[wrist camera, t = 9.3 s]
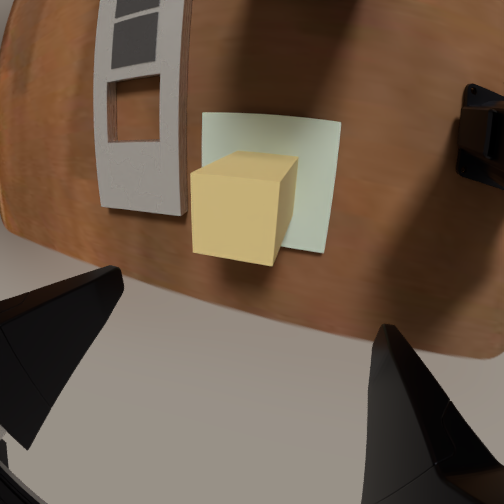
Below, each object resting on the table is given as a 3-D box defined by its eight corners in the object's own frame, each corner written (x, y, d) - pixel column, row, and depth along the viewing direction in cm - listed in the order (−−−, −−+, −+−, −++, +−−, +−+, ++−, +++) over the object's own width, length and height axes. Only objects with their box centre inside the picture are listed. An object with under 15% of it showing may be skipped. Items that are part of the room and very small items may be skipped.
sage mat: (340, 122, 17) (341, 122, 16) (323, 249, 21) (323, 253, 20) (206, 112, 19) (202, 112, 18) (206, 231, 23) (202, 234, 22)
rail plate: (196, -36, 13) (188, -42, 12) (187, 210, 22) (179, 216, 21) (111, -12, 15) (101, -15, 14) (109, 202, 24) (100, 207, 23)
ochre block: (298, 156, 18) (279, 182, 12) (292, 215, 20) (272, 266, 14) (237, 150, 19) (190, 173, 13) (235, 207, 21) (193, 252, 15)
